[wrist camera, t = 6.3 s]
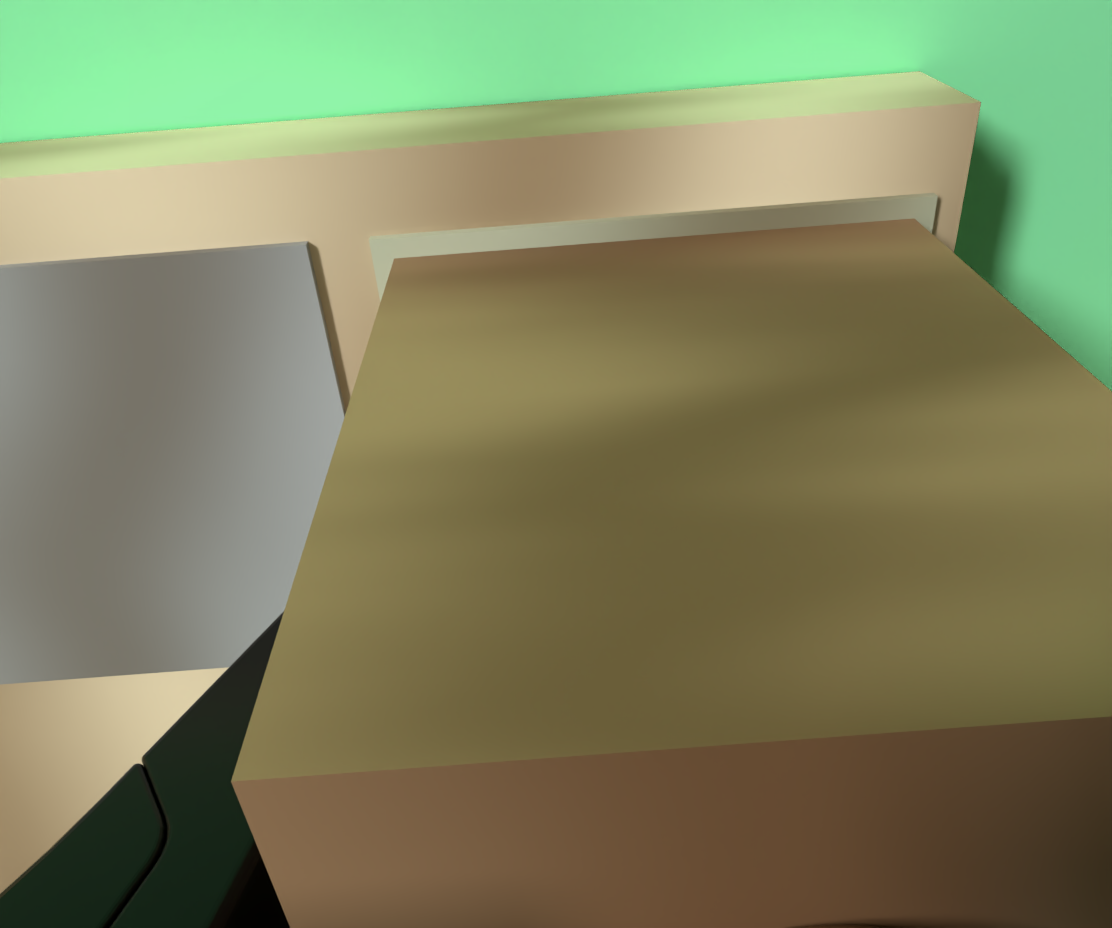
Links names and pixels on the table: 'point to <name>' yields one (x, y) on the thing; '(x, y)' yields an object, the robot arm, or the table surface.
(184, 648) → the game board
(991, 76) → the table surface
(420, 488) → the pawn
